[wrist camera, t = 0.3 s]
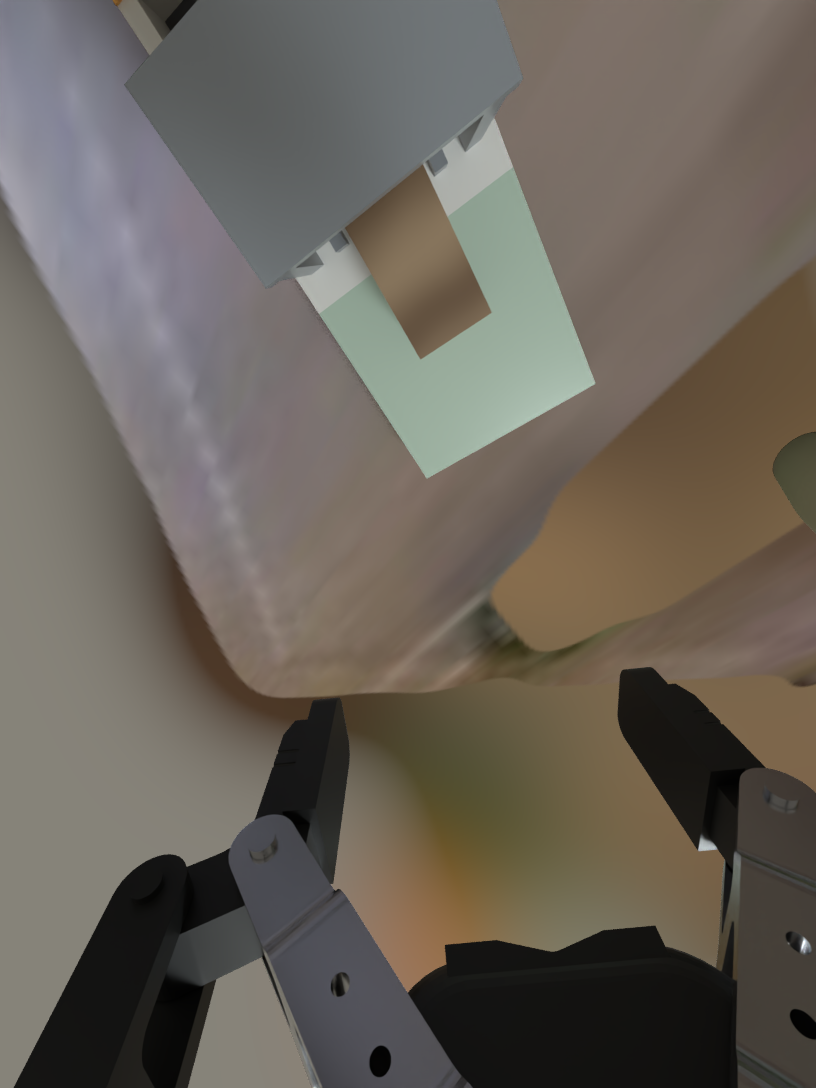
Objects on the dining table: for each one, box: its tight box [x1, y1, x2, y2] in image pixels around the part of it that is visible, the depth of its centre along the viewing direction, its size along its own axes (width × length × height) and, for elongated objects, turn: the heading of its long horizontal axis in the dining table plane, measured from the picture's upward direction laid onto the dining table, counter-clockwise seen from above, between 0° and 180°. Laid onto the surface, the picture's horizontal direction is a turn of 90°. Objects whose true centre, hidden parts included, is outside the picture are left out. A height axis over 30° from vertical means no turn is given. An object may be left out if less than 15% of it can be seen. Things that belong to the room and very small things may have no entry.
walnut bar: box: [345, 165, 492, 360], centre depth 23 cm, size 16×4×6 cm, turn 32°
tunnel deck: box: [113, 0, 595, 478], centre depth 24 cm, size 31×14×13 cm, turn 32°
